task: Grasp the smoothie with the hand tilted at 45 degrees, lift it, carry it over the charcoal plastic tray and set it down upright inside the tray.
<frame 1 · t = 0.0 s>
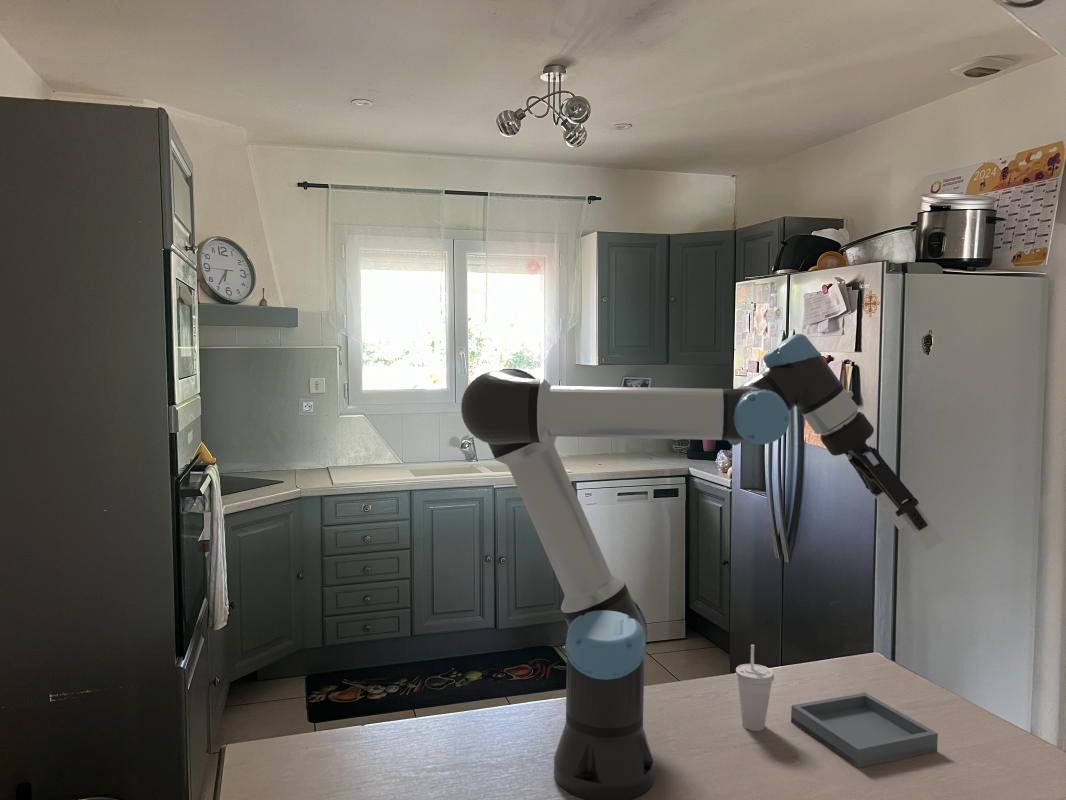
hand: (919, 534, 123), 36 cm above the countertop, tool tilted 35°, fingers open, 13 cm apart
smoothie: (753, 726, 136), on the countertop
tray: (861, 736, 132), on the countertop
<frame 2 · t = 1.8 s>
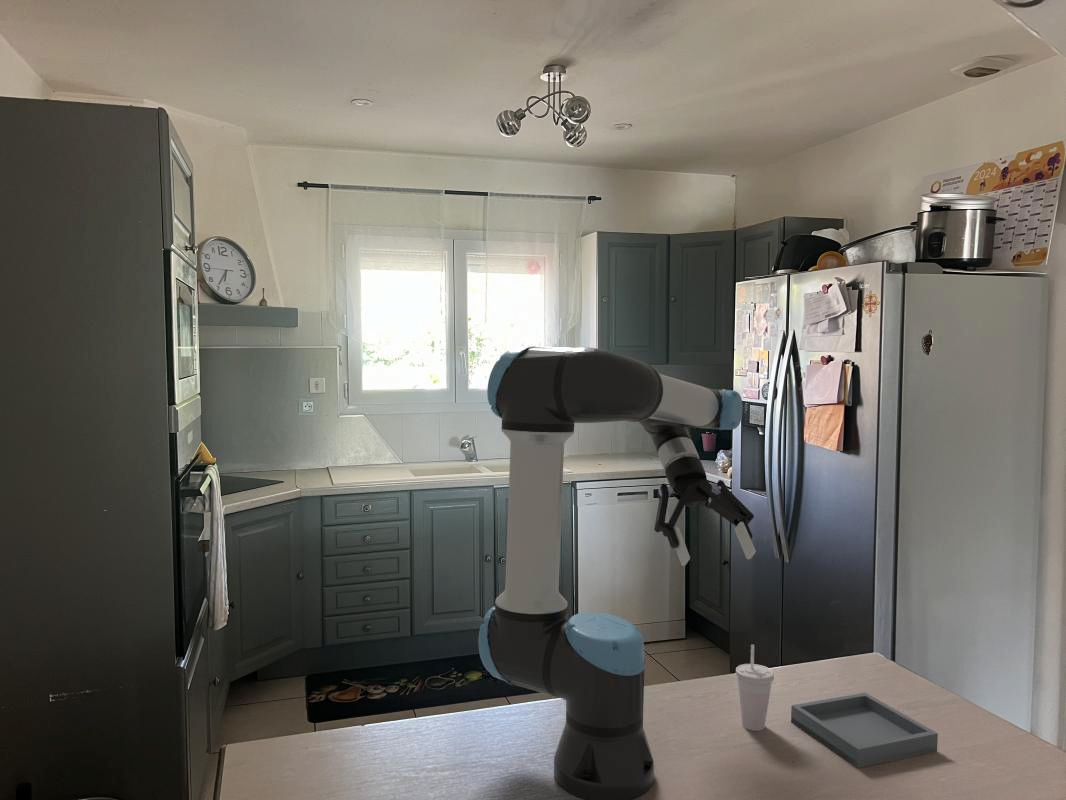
hand: (719, 558, 146), 26 cm above the countertop, tool tilted 45°, fingers open, 13 cm apart
nothing on the countertop moved.
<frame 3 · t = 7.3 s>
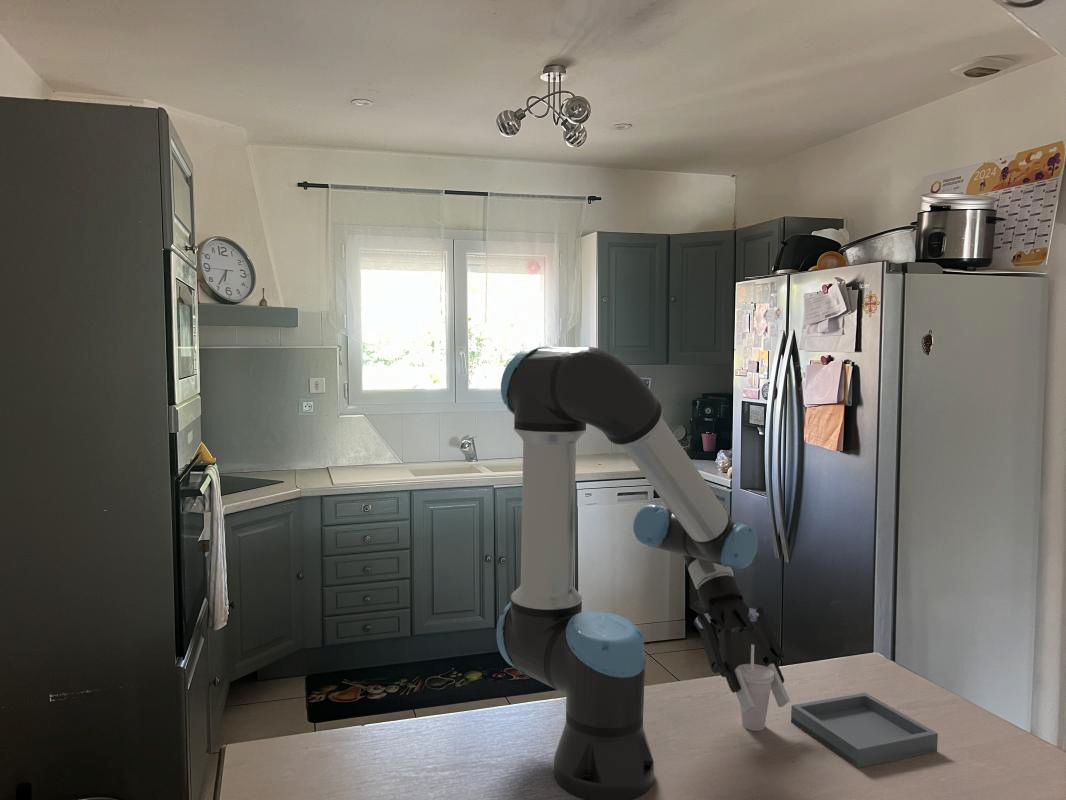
hand: (766, 706, 132), 5 cm above the countertop, tool tilted 45°, fingers closed on smoothie, 6 cm apart
smoothie: (753, 726, 136), on the countertop, touching gripper
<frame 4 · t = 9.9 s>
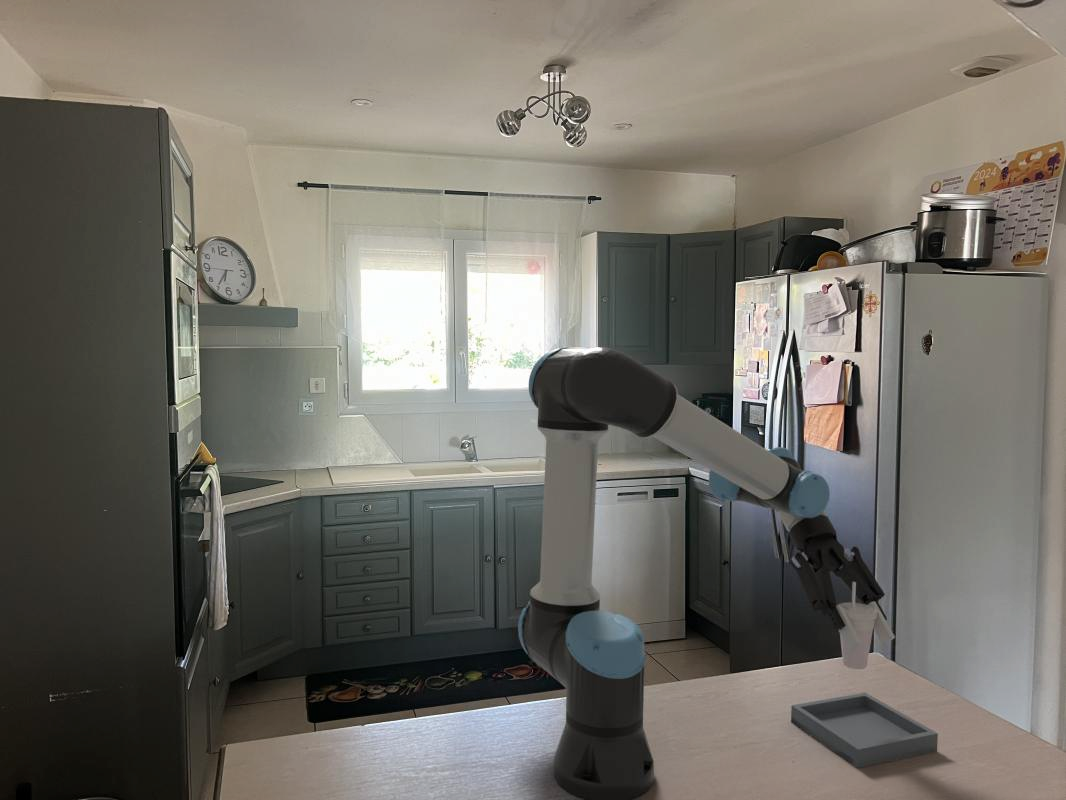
hand: (872, 643, 129), 17 cm above the countertop, tool tilted 45°, fingers closed on smoothie, 6 cm apart
smoothie: (854, 665, 133), point 12 cm above the countertop, touching gripper
when the fingers open (7 cm above the countertop, at t = 13.0 s): smoothie drops 1 cm, resting on tray.
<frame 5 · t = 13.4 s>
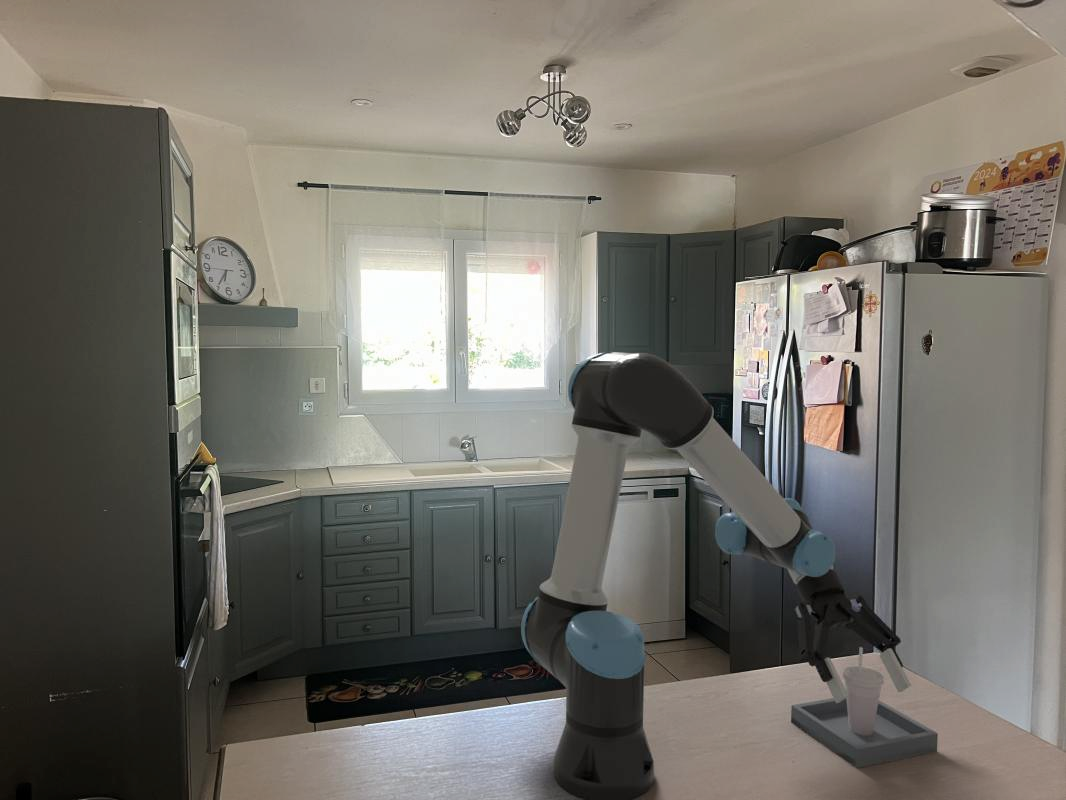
hand: (874, 694, 129), 8 cm above the countertop, tool tilted 45°, fingers open, 12 cm apart
smoothie: (860, 731, 132), point 1 cm above the countertop, touching tray
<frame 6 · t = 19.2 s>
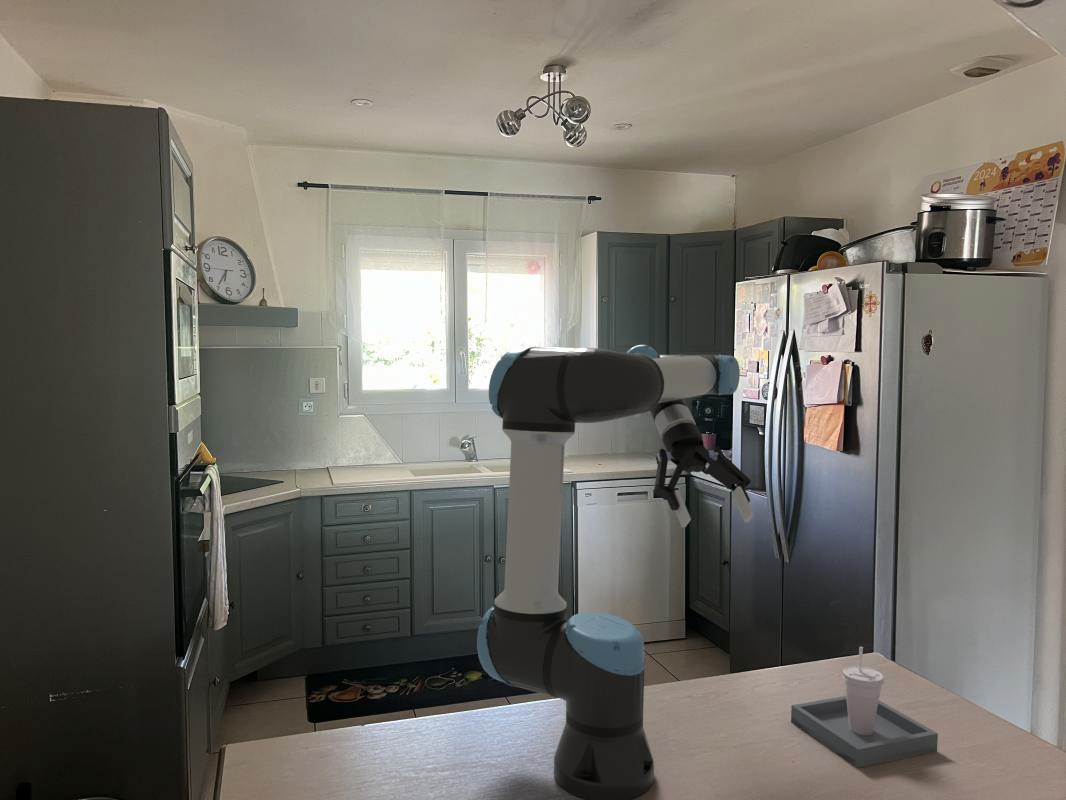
hand: (718, 521, 147), 33 cm above the countertop, tool tilted 45°, fingers open, 13 cm apart
nothing on the countertop moved.
at the end: smoothie inside the target area on the tray (0.1 cm from its centre), point 0.8 cm above the tray's base; smoothie tilted 1°; the gripper is holding nothing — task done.
